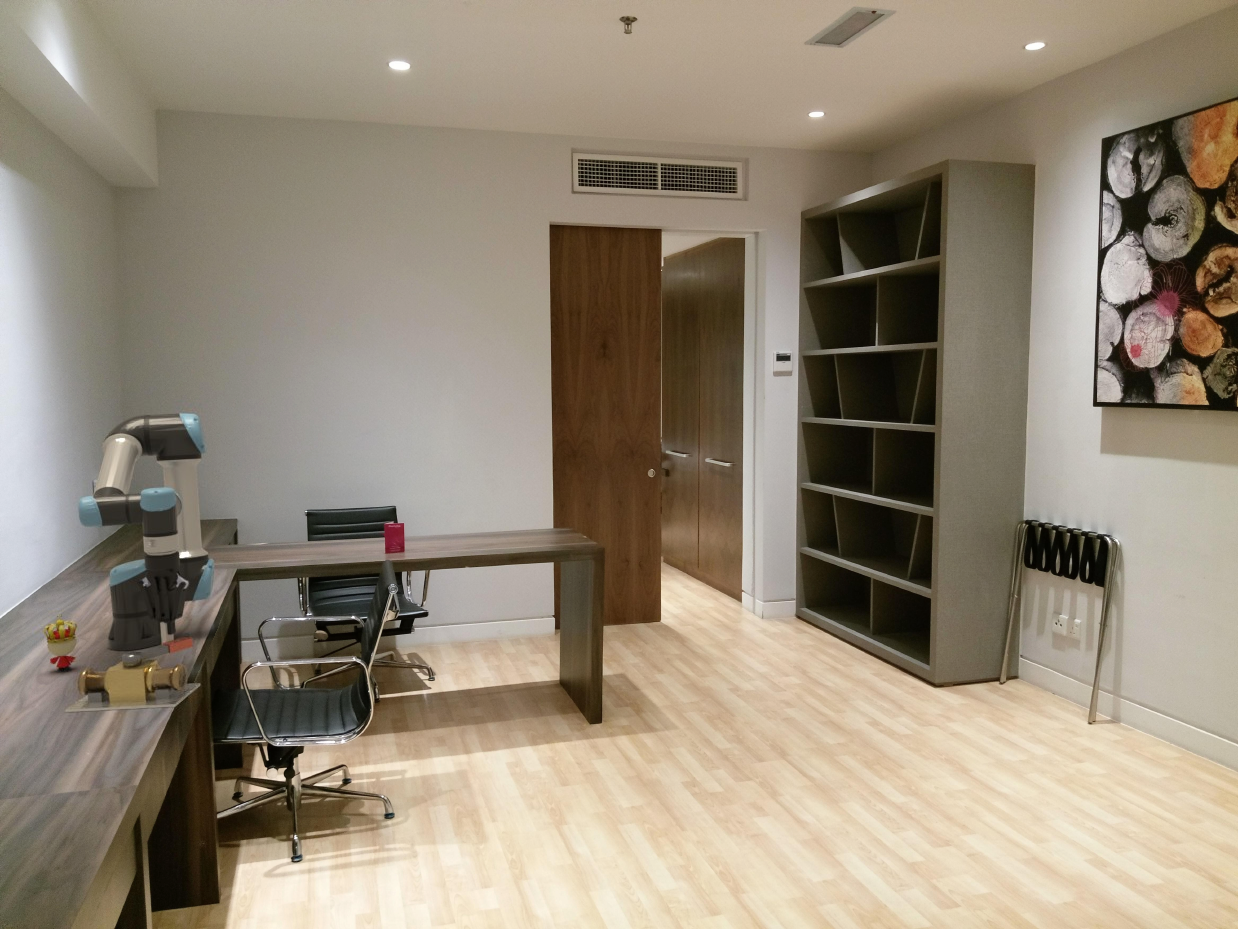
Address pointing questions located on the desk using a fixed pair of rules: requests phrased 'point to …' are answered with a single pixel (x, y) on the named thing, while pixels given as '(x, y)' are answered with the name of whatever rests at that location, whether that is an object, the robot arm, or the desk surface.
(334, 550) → the desk surface
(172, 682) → the valve body
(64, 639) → the toy
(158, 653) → the lever
